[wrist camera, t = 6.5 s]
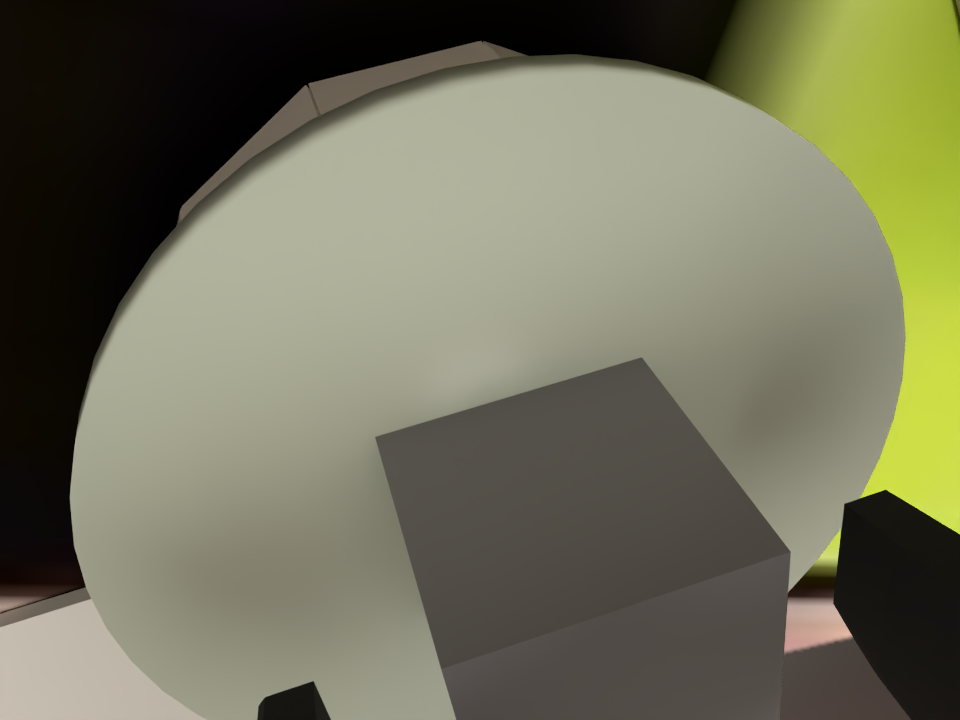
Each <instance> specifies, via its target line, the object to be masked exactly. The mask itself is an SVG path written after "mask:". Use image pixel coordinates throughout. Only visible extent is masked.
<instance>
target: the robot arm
mask: <svg viewBox="0 0 960 720" xmlns="http://www.w3.org/2000/svg"><path fill="white" fill-rule="evenodd" d="M833 604H834V605H835V607H836V609H837V610H838V612H839V614H840V616H841V617H842V619H843V621H844V622H845V624H846V626H847V627H848V629H849V631H850V633H851V634H852V636H853V638H854V639H855V641H856V643H857V644H858V646H859V647H860V649H861V651H862V652H863V654H864V655H865V657H866V659H867V660H868V662H869V663H870V665H871V667H872V668H873V670H874V671H875V673H876V674H877V676H878V677H879V678H880V680H881V681H882V682H883V683H884V685H885V686H886V687H887V689H888V690H889V691H890V693H891V694H892V695H893V697H894V698H895V699H896V700H897V702H898V703H899V704H900V706H901V707H902V708H903V710H904V711H905V712H906V713H907V715H908V716H909V717H910V719H911V720H960V534H958V533H956V532H955V531H953V530H951V529H950V528H948V527H946V526H945V525H943V524H941V523H940V522H938V521H936V520H935V519H933V518H932V517H930V516H928V515H927V514H925V513H923V512H922V511H920V510H918V509H917V508H915V507H913V506H912V505H910V504H908V503H907V502H905V501H903V500H902V499H900V498H898V497H897V496H895V495H893V494H892V493H890V492H888V491H887V490H884V491H881V492H878V493H875V494H872V495H869V496H866V497H863V498H860V499H857V500H854V501H851V502H848V503H845V504H844V512H843V521H842V530H841V539H840V548H839V557H838V566H837V575H836V584H835V593H834V602H833ZM257 720H331V719H330V716H329V714H328V712H327V710H326V707H325V705H324V703H323V701H322V699H321V696H320V694H319V692H318V690H317V687H316V685H315V683H314V681H312V682H309V683H306V684H303V685H300V686H297V687H294V688H291V689H288V690H285V691H282V692H279V693H276V694H273V695H270V696H267V697H265V698H264V699H263V700H262V702H261V703H260V704H259V706H258V717H257Z"/></svg>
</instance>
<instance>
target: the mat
mask: <svg viewBox="0 0 960 720" xmlns="http://www.w3.org/2000/svg"><path fill="white" fill-rule="evenodd" d="M0 720H207V719H205V718H203V717H201V716H199V715H197V714H196V713H194V712H193V711H191V710H190V709H188V708H187V707H185V706H184V705H183V704H181V703H180V702H178V701H177V700H175V699H174V698H172V697H171V696H169V695H168V694H166V693H165V692H163V691H162V690H161V689H160V688H159V687H158V686H157V685H156V684H155V683H154V682H153V681H152V680H151V679H149V678H148V677H147V676H146V675H145V674H144V673H143V672H142V671H141V670H140V669H139V668H138V667H137V666H136V665H135V664H133V663H132V661H131V660H130V659H129V657H128V656H127V655H126V653H125V652H124V651H123V649H122V648H121V647H120V646H119V644H118V643H117V642H116V640H115V639H114V638H113V636H112V635H111V634H110V632H109V631H108V630H107V628H106V626H105V624H104V622H103V620H102V618H101V616H100V615H99V613H98V611H97V609H96V607H95V605H94V603H93V601H92V599H91V597H90V595H89V593H88V591H87V588H86V587H85V588H82V589H79V590H75V591H72V592H69V593H66V594H63V595H59V596H56V597H53V598H50V599H46V600H43V601H40V602H37V603H34V604H30V605H27V606H24V607H21V608H17V609H14V610H11V611H8V612H5V613H1V614H0Z"/></svg>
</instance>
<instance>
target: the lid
mask: <svg viewBox="0 0 960 720" xmlns="http://www.w3.org/2000/svg"><path fill="white" fill-rule="evenodd" d="M904 350H905V325H904V312H903V298H902V293H901V289H900V285H899V281H898V277H897V273H896V269H895V265H894V260H893V256H892V254H891V252H890V249H889V247H888V245H887V243H886V240H885V238H884V236H883V234H882V231H881V229H880V227H879V225H878V223H877V220H876V218H875V216H874V214H873V213H872V212H871V210H870V209H869V207H868V206H867V204H866V203H865V201H864V200H863V199H862V197H861V196H860V194H859V193H858V191H857V190H856V189H855V187H854V186H853V184H852V183H851V181H850V180H849V179H848V178H847V177H846V176H845V175H844V174H843V173H842V172H841V171H840V170H839V169H838V168H837V167H836V166H835V165H834V164H833V163H832V162H831V161H830V160H829V159H828V158H827V157H826V156H825V155H824V154H823V153H822V152H821V151H820V150H819V149H818V148H817V147H816V146H815V145H813V144H812V143H810V142H809V141H807V140H806V139H805V138H803V137H802V136H800V135H799V134H797V133H796V132H794V131H793V130H791V129H790V128H788V127H787V126H785V125H784V124H782V123H781V122H779V121H778V120H776V119H775V118H773V117H772V116H770V115H769V114H767V113H765V112H764V111H762V110H760V109H759V108H757V107H756V106H754V105H752V104H751V103H749V102H747V101H746V100H744V99H742V98H741V97H738V96H736V95H734V94H732V93H730V92H727V91H725V90H723V89H721V88H718V87H716V86H714V85H712V84H709V83H707V82H705V81H703V80H701V79H698V78H696V77H694V76H691V75H688V74H684V73H680V72H676V71H672V70H669V69H665V68H661V67H657V66H654V65H650V64H646V63H642V62H639V61H633V60H623V59H614V58H605V57H595V56H586V55H577V54H569V55H543V56H516V57H505V58H499V59H494V60H488V61H482V62H477V63H471V64H465V65H460V66H454V67H448V68H443V69H439V70H436V71H433V72H430V73H427V74H423V75H420V76H417V77H414V78H411V79H408V80H405V81H401V82H398V83H395V84H392V85H389V86H386V87H382V88H379V89H376V90H373V91H371V92H369V93H367V94H365V95H363V96H361V97H359V98H356V99H354V100H352V101H350V102H348V103H346V104H344V105H341V106H339V107H337V108H335V109H333V110H331V111H329V112H327V113H324V114H322V115H320V116H318V117H316V118H314V119H312V120H310V121H308V122H306V123H305V124H303V125H302V126H300V127H299V128H297V129H295V130H294V131H292V132H291V133H289V134H288V135H286V136H285V137H283V138H281V139H280V140H278V141H277V142H275V143H274V144H272V145H270V146H269V147H267V148H266V149H264V150H263V151H261V152H259V153H258V154H256V155H255V156H253V157H252V158H250V159H249V160H248V161H247V162H245V163H244V164H243V165H242V166H241V167H239V168H238V169H237V170H236V171H235V172H234V173H232V174H231V175H230V176H229V177H228V178H226V179H225V180H224V181H223V182H222V183H221V184H219V185H218V186H217V187H216V188H215V189H213V190H212V191H211V192H210V193H209V194H208V195H206V196H205V197H204V198H203V199H202V200H200V201H199V202H198V203H197V204H196V205H195V206H194V207H193V209H192V210H191V211H190V212H189V213H188V214H187V215H186V216H185V217H184V219H183V220H182V221H181V222H180V223H179V224H178V225H177V226H176V228H175V229H174V230H173V231H172V232H171V233H170V234H169V235H168V236H167V238H166V239H165V240H164V241H163V242H162V243H161V244H160V245H159V246H158V248H157V249H156V250H155V251H154V252H153V254H152V255H151V257H150V258H149V260H148V261H147V263H146V264H145V266H144V267H143V269H142V270H141V272H140V273H139V275H138V276H137V278H136V279H135V281H134V282H133V284H132V285H131V287H130V288H129V290H128V291H127V293H126V294H125V296H124V297H123V299H122V300H121V302H120V303H119V305H118V307H117V309H116V312H115V314H114V316H113V318H112V320H111V322H110V325H109V327H108V329H107V331H106V333H105V335H104V338H103V340H102V342H101V344H100V346H99V348H98V351H97V353H96V355H95V357H94V361H93V365H92V368H91V372H90V376H89V379H88V383H87V386H86V390H85V394H84V397H83V401H82V405H81V408H80V414H79V421H78V427H77V434H76V440H75V447H74V458H73V468H72V479H71V490H70V506H71V517H72V528H73V538H74V547H75V550H76V554H77V557H78V561H79V564H80V568H81V571H82V575H83V578H84V581H85V585H86V588H87V591H88V593H89V595H90V597H91V599H92V601H93V603H94V605H95V607H96V609H97V611H98V613H99V615H100V616H101V618H102V620H103V622H104V624H105V626H106V628H107V630H108V631H109V632H110V634H111V635H112V636H113V638H114V639H115V640H116V642H117V643H118V644H119V646H120V647H121V648H122V649H123V651H124V652H125V653H126V655H127V656H128V657H129V659H130V660H131V661H132V663H133V664H135V665H136V666H137V667H138V668H139V669H140V670H141V671H142V672H143V673H144V674H145V675H146V676H147V677H148V678H149V679H151V680H152V681H153V682H154V683H155V684H156V685H157V686H158V687H159V688H160V689H161V690H162V691H163V692H165V693H166V694H168V695H169V696H171V697H172V698H174V699H175V700H177V701H178V702H180V703H181V704H183V705H184V706H185V707H187V708H188V709H190V710H191V711H193V712H194V713H196V714H197V715H199V716H201V717H203V718H205V719H207V720H257V717H258V706H259V704H260V703H261V702H262V700H263V699H264V698H265V697H267V696H270V695H273V694H276V693H279V692H282V691H285V690H288V689H291V688H294V687H297V686H300V685H303V684H306V683H309V682H312V681H314V683H315V685H316V687H317V690H318V692H319V694H320V696H321V699H322V701H323V703H324V705H325V707H326V710H327V712H328V714H329V716H330V719H331V720H779V715H780V714H779V713H780V701H781V687H782V672H783V658H784V644H785V629H786V615H787V600H788V592H789V591H790V590H791V588H792V587H793V586H794V585H795V584H796V583H797V582H798V581H799V580H800V579H801V578H802V576H803V575H804V574H805V573H806V572H807V571H808V570H809V569H810V568H811V567H812V565H813V564H814V563H815V562H816V560H817V559H818V558H819V557H820V555H821V554H822V553H823V551H824V550H825V549H826V547H827V546H828V545H829V543H830V542H831V541H832V540H833V538H834V537H835V536H836V534H837V533H838V532H839V530H840V529H841V527H842V521H843V512H844V504H845V503H848V502H851V501H854V500H857V499H859V498H860V497H861V495H862V493H863V491H864V489H865V487H866V485H867V483H868V481H869V479H870V476H871V474H872V472H873V470H874V468H875V466H876V464H877V462H878V460H879V458H880V455H881V453H882V450H883V447H884V444H885V441H886V438H887V436H888V433H889V430H890V427H891V424H892V422H893V419H894V414H895V410H896V405H897V400H898V396H899V391H900V387H901V382H902V376H903V363H904Z"/></svg>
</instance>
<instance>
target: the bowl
mask: <svg viewBox="0 0 960 720" xmlns="http://www.w3.org/2000/svg"><path fill="white" fill-rule="evenodd" d="M516 56H528V55H524V54H521V53H518V52H515V51H512V50H509V49H506V48H503V47H500V46H497V45H494V44H491V43H488V42H485V41H483V43H482V42H481V41H478V42H474V43H470V44H466V45H462V46H458V47H454V48H450V49H445V50H441V51H437V52H433V53H429V54H425V55H421V56H417V57H413V58H409V59H405V60H401V61H397V62H393V63H389V64H385V65H381V66H377V67H373V68H369V69H365V70H361V71H357V72H353V73H349V74H344V75H340V76H336V77H332V78H328V79H324V80H320V81H316V82H312V83H308V84H309V88H310V89H309V88H308V87H307V86H306V85H305V86H304V87H303V88H302V89H301V90H300V91H299V92H298V93H297V94H296V95H295V96H294V97H293V98H292V99H291V100H290V101H289V102H288V103H287V104H286V105H285V106H284V107H283V108H282V109H281V110H280V111H279V112H278V113H277V114H276V115H275V116H274V117H273V118H271V119H270V120H269V121H268V122H267V123H266V124H265V125H264V126H263V127H262V128H261V129H260V130H259V131H258V132H257V133H256V134H255V135H254V136H253V137H252V138H251V139H250V140H249V141H248V142H247V143H246V144H245V145H244V146H243V147H242V148H241V149H240V150H239V151H238V152H237V153H236V154H235V155H234V156H233V157H232V158H231V159H230V160H229V161H228V162H227V163H226V164H225V165H224V166H222V167H221V168H220V169H219V170H218V171H217V172H216V173H215V174H214V175H213V176H212V177H211V178H210V179H209V180H208V181H207V182H206V183H205V184H204V185H203V186H202V187H201V188H200V189H199V190H198V191H197V192H196V193H195V194H194V195H193V196H192V197H191V198H190V199H189V200H188V201H187V202H186V203H185V204H184V205H183V206H182V209H180V213H179V218H178V222H177V225H178V224H179V223H180V222H181V221H182V220H183V219H184V217H185V216H186V215H187V214H188V213H189V212H190V211H191V210H192V209H193V207H194V206H195V205H196V204H197V203H198V202H199V201H200V200H202V199H203V198H204V197H205V196H206V195H208V194H209V193H210V192H211V191H212V190H213V189H215V188H216V187H217V186H218V185H219V184H221V183H222V182H223V181H224V180H225V179H226V178H228V177H229V176H230V175H231V174H232V173H234V172H235V171H236V170H237V169H238V168H239V167H241V166H242V165H243V164H244V163H245V162H247V161H248V160H249V159H250V158H252V157H253V156H255V155H256V154H258V153H259V152H261V151H263V150H264V149H266V148H267V147H269V146H270V145H272V144H274V143H275V142H277V141H278V140H280V139H281V138H283V137H285V136H286V135H288V134H289V133H291V132H292V131H294V130H295V129H297V128H299V127H300V126H302V125H303V124H305V123H306V122H308V121H310V120H312V119H314V118H316V117H318V116H320V115H322V114H324V113H327V112H329V111H331V110H333V109H335V108H337V107H339V106H341V105H344V104H346V103H348V102H350V101H352V100H354V99H356V98H359V97H361V96H363V95H365V94H367V93H369V92H371V91H373V90H376V89H379V88H382V87H386V86H389V85H392V84H395V83H398V82H401V81H405V80H408V79H411V78H414V77H417V76H420V75H423V74H427V73H430V72H433V71H436V70H439V69H443V68H448V67H454V66H460V65H465V64H471V63H477V62H482V61H488V60H494V59H499V58H505V57H516Z"/></svg>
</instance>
